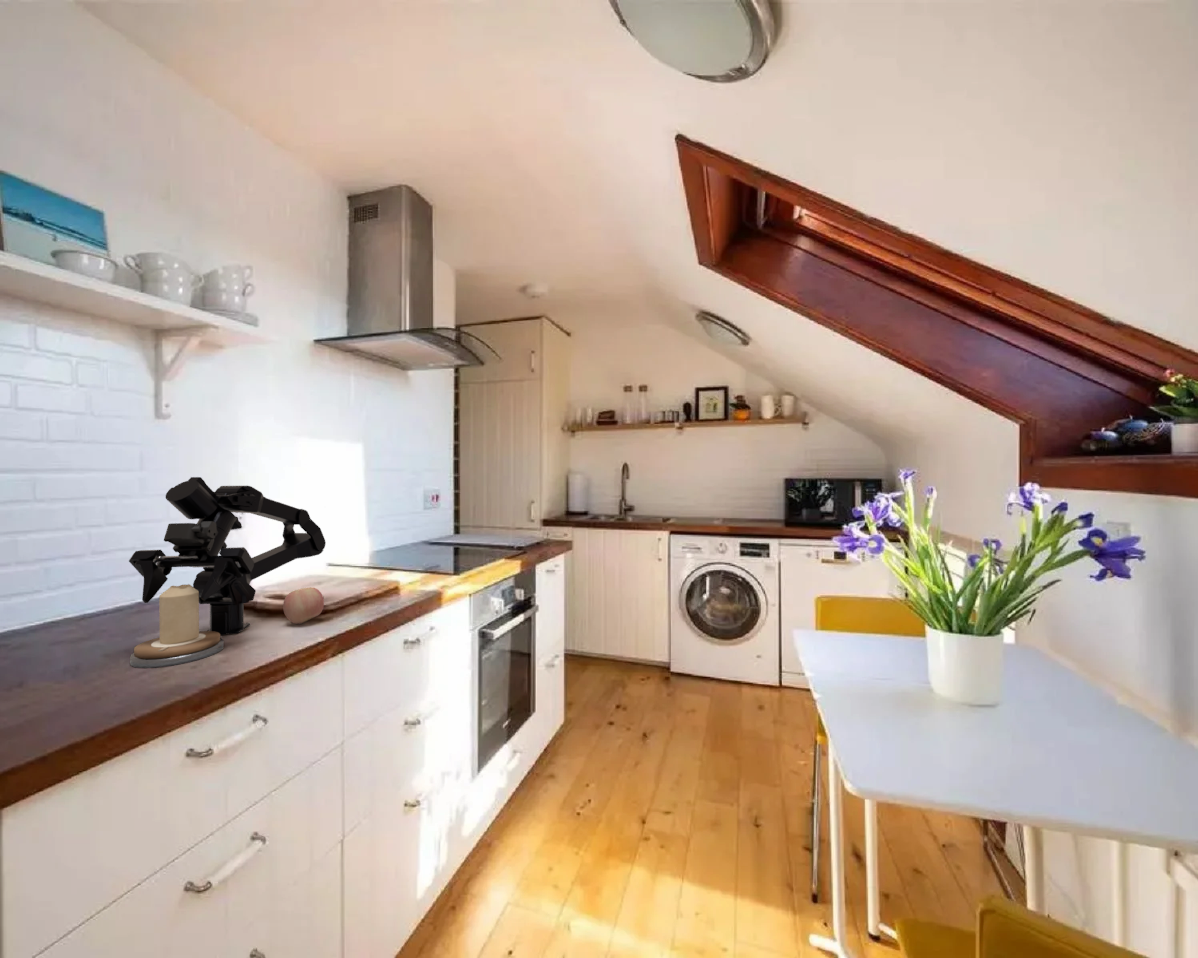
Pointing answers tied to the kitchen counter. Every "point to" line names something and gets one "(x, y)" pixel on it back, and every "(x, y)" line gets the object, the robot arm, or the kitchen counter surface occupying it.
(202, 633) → the turntable
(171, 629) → the candle
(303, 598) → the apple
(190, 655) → the turntable base
